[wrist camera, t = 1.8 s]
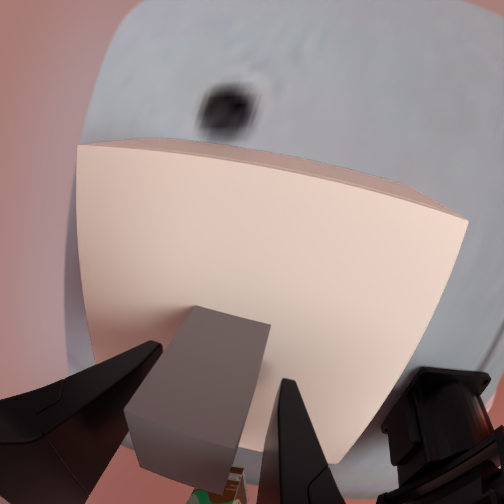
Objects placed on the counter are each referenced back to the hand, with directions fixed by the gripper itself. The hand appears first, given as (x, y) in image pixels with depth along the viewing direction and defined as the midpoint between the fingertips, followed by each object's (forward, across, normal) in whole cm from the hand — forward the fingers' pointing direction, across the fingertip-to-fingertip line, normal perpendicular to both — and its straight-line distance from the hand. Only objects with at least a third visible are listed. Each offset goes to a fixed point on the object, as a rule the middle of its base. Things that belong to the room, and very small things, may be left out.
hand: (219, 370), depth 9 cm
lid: (+2, 0, 0) cm, 2 cm away
